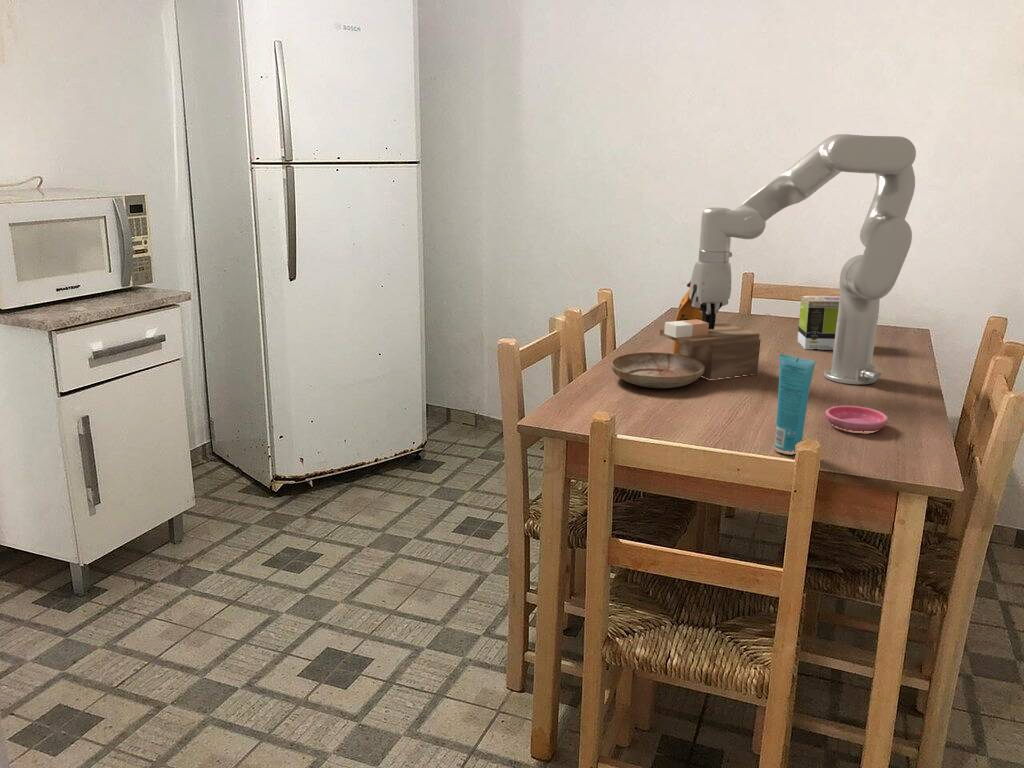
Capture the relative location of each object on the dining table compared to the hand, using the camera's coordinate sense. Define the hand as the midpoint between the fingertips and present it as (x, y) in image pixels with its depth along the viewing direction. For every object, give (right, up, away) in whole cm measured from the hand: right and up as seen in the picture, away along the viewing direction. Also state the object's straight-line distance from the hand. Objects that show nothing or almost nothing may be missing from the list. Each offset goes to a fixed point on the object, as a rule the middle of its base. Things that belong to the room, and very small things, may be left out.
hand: (708, 328), depth 218 cm
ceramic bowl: (-14, -14, -5) cm, 21 cm away
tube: (+3, -28, -52) cm, 59 cm away
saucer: (+23, -24, -37) cm, 50 cm away
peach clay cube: (-4, -1, -2) cm, 5 cm away
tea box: (+43, -4, +33) cm, 54 cm away
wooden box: (+1, -11, +4) cm, 12 cm away
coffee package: (-1, -7, +20) cm, 21 cm away
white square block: (-9, -2, -4) cm, 9 cm away
